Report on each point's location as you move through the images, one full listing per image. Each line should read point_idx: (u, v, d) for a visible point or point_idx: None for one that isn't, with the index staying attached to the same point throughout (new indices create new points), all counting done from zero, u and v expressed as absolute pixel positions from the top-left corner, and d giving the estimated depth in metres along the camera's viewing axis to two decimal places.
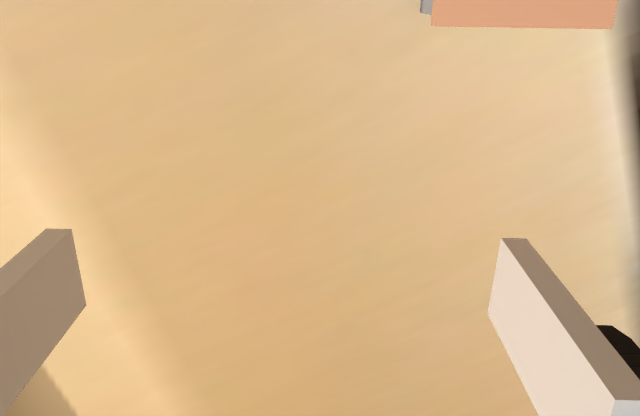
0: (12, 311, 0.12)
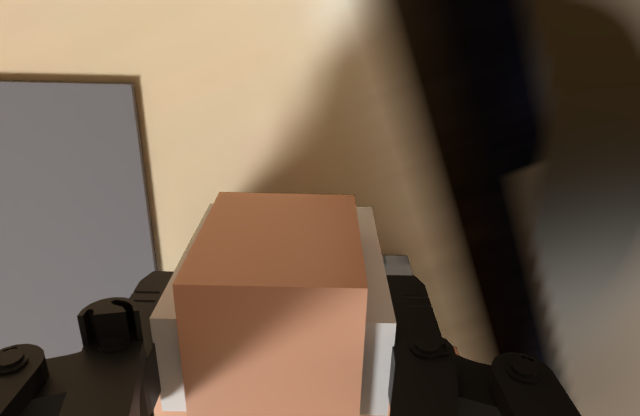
0: None
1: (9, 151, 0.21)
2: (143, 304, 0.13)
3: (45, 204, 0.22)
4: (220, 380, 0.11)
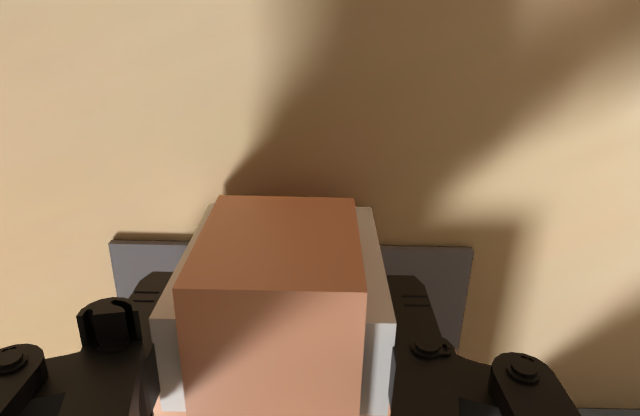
0: None
1: None
2: (143, 304, 0.13)
3: None
4: (220, 384, 0.11)
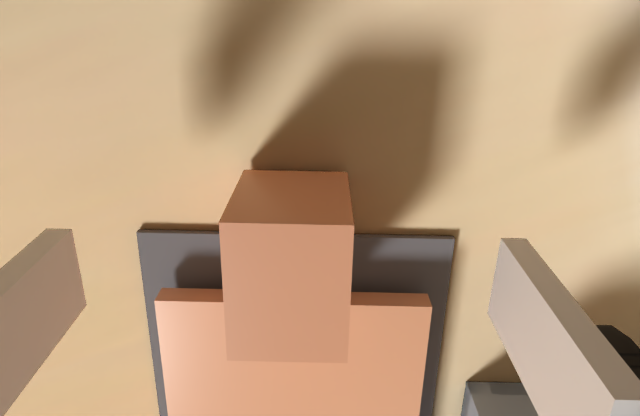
0: (12, 311, 0.12)
1: None
2: None
3: None
4: (249, 296, 0.16)
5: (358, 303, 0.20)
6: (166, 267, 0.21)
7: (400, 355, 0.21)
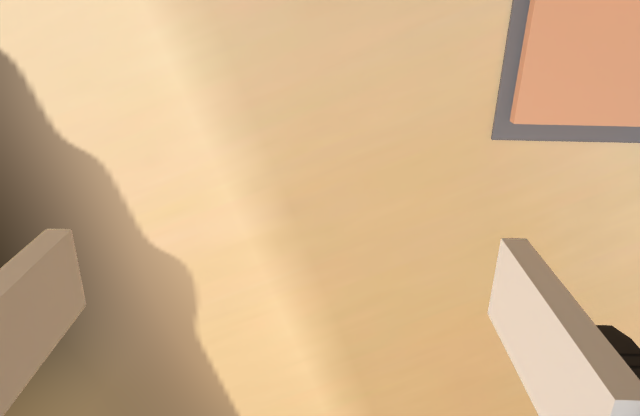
0: (12, 311, 0.12)
1: None
2: None
3: None
4: None
5: None
6: None
7: None
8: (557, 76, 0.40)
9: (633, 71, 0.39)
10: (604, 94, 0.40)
